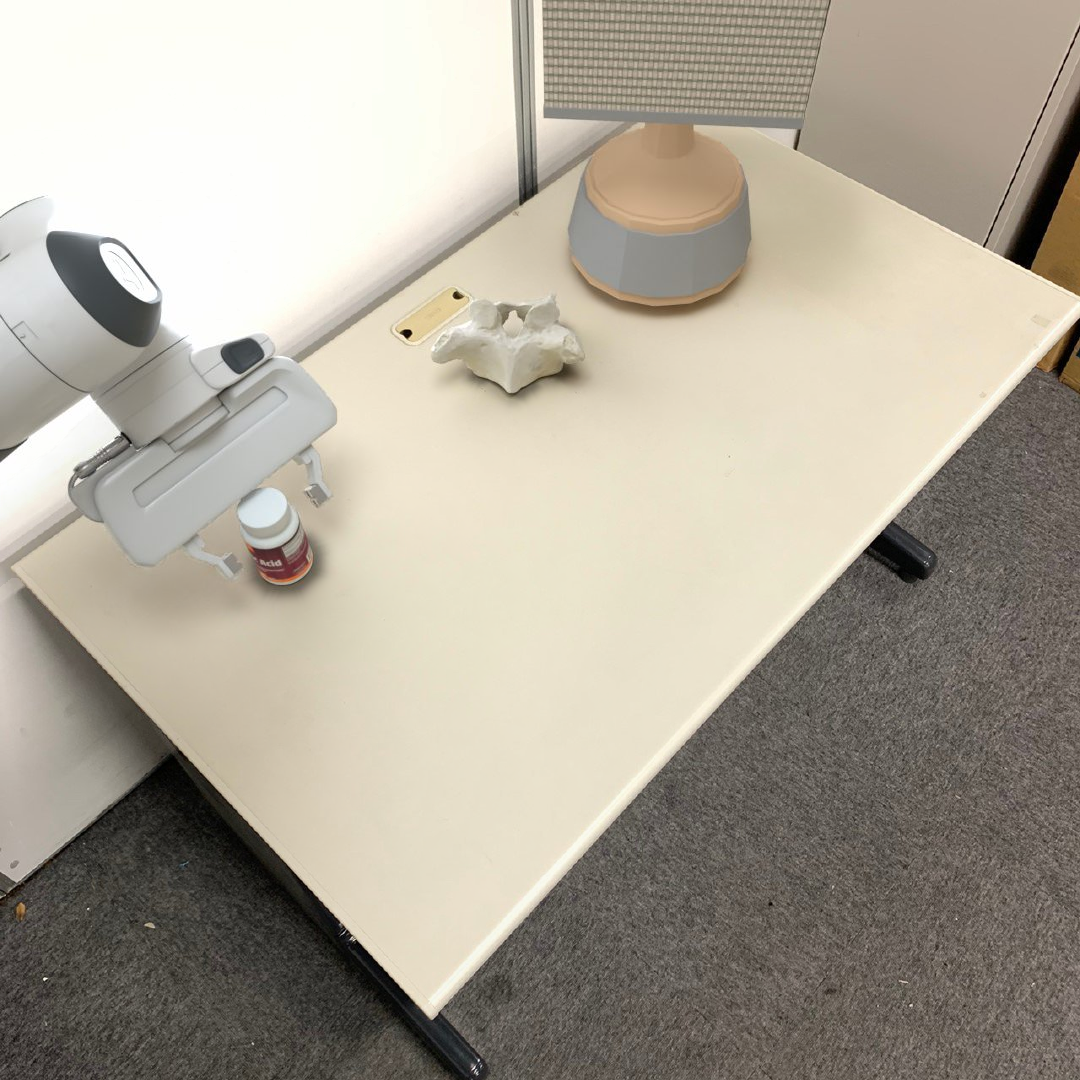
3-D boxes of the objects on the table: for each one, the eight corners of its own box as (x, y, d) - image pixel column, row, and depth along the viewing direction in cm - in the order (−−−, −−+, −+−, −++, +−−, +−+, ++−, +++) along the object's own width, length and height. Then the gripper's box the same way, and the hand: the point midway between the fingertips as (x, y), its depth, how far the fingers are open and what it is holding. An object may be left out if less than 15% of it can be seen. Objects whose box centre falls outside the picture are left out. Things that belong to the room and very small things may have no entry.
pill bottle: (247, 573, 85) (219, 517, 78) (280, 532, 88) (255, 474, 81) (292, 595, 84) (267, 540, 77) (325, 553, 86) (303, 495, 79)
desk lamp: (758, 205, 110) (831, -176, 80) (760, 327, 100) (846, -56, 69) (563, 195, 112) (562, -181, 82) (546, 315, 102) (537, -66, 71)
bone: (580, 392, 97) (590, 342, 90) (440, 416, 95) (438, 367, 88) (558, 320, 101) (565, 266, 94) (422, 341, 99) (419, 288, 91)
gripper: (57, 478, 70) (187, 625, 74) (280, 320, 78) (385, 461, 83) (49, 483, 75) (170, 620, 80) (259, 335, 84) (358, 466, 88)
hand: (281, 538), depth 81 cm, fingers open, 8 cm apart
